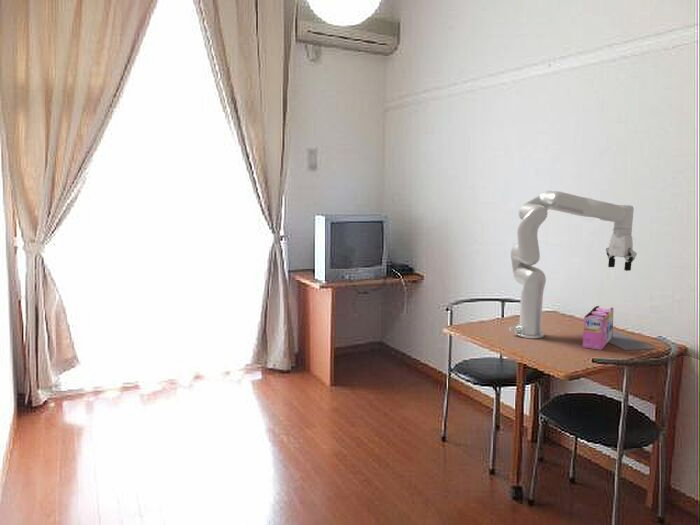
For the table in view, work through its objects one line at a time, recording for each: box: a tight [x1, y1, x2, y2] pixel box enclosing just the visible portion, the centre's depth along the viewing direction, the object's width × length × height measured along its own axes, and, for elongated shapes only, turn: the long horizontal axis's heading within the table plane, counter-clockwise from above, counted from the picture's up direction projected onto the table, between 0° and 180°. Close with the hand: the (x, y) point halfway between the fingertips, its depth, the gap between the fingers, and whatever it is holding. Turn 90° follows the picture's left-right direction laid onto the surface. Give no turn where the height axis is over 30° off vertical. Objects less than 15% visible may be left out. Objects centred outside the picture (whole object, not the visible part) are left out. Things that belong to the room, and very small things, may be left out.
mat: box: [607, 331, 656, 351], centre depth 243 cm, size 14×24×1 cm, turn 10°
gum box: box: [582, 305, 614, 351], centre depth 241 cm, size 24×8×14 cm, turn 144°
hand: (619, 268), depth 254 cm, fingers open, 9 cm apart
